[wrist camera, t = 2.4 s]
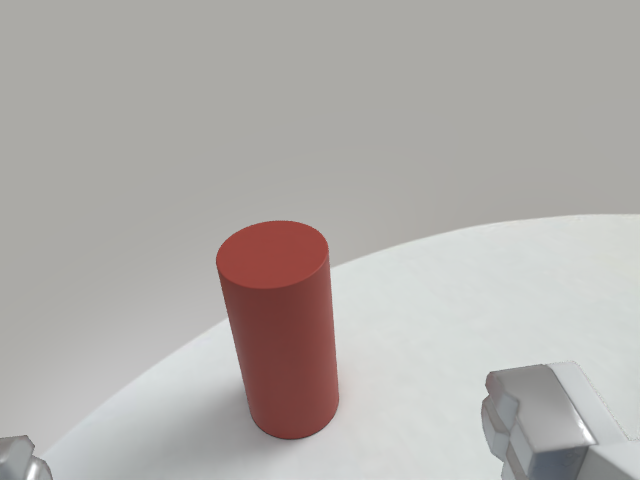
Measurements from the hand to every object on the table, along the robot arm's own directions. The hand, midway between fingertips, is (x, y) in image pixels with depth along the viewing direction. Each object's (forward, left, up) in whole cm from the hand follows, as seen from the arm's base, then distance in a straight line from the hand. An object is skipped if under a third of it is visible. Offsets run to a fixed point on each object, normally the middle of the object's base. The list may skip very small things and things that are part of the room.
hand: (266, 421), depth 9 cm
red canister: (+1, +12, -15) cm, 19 cm away
